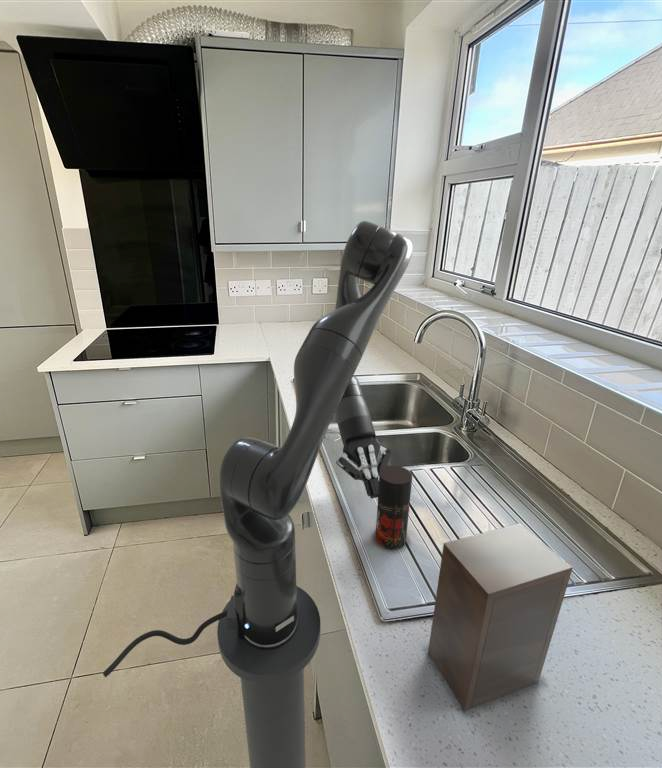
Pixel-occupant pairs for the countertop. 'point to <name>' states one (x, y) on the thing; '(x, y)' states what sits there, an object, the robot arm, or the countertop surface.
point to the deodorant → (393, 507)
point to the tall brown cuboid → (495, 612)
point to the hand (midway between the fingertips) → (375, 497)
